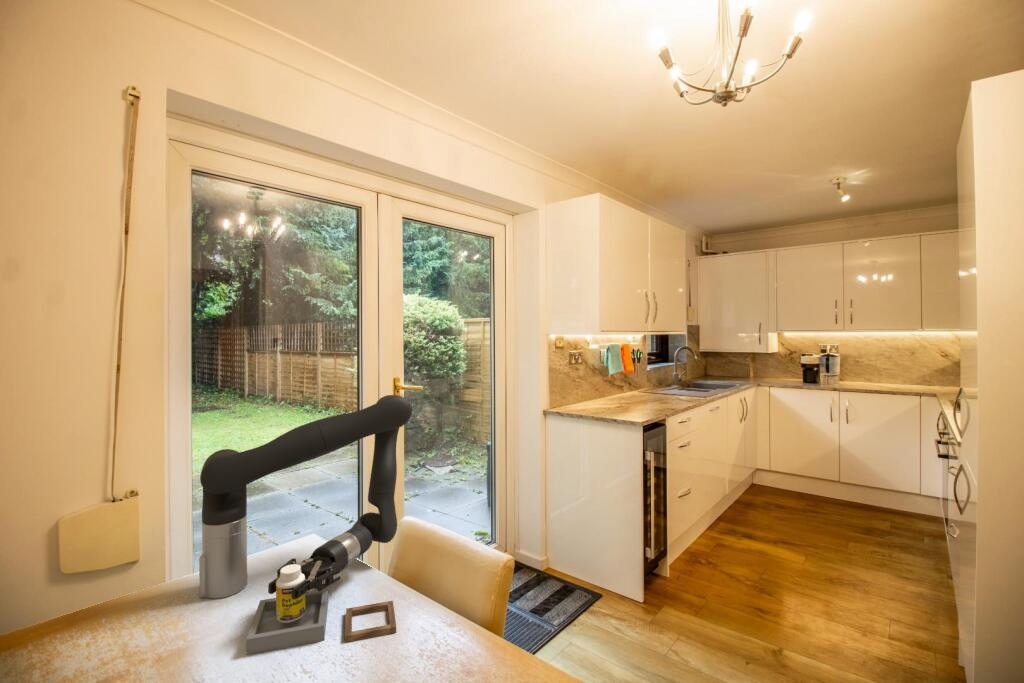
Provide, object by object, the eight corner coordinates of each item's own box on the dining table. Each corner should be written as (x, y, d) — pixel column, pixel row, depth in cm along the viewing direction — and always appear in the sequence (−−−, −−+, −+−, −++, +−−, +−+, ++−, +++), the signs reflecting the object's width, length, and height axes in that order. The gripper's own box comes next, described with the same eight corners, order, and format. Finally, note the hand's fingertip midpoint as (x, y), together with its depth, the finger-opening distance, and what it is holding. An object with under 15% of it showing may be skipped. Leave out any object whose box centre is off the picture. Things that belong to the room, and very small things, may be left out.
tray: (246, 654, 90) (246, 639, 90) (260, 613, 104) (260, 600, 104) (324, 640, 95) (324, 625, 95) (328, 602, 108) (328, 589, 108)
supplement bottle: (278, 627, 96) (277, 578, 95) (274, 614, 100) (273, 566, 100) (307, 618, 99) (307, 570, 98) (303, 605, 103) (302, 559, 103)
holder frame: (345, 642, 94) (345, 636, 94) (346, 614, 104) (346, 608, 104) (396, 632, 97) (396, 626, 97) (392, 605, 107) (392, 600, 107)
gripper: (312, 535, 115) (253, 568, 99) (361, 543, 110) (309, 580, 94) (312, 565, 115) (254, 603, 99) (361, 575, 111) (309, 616, 95)
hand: (281, 591), depth 97 cm, fingers closed on supplement bottle, 5 cm apart
